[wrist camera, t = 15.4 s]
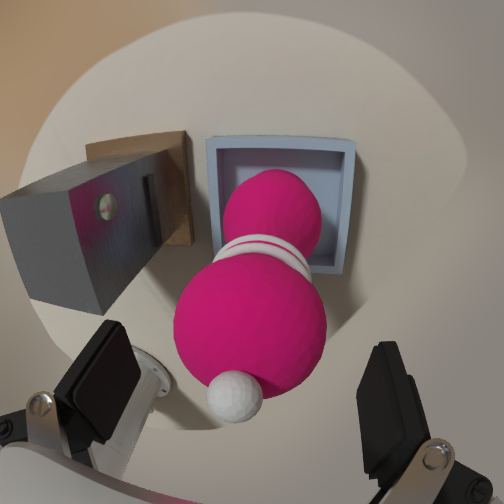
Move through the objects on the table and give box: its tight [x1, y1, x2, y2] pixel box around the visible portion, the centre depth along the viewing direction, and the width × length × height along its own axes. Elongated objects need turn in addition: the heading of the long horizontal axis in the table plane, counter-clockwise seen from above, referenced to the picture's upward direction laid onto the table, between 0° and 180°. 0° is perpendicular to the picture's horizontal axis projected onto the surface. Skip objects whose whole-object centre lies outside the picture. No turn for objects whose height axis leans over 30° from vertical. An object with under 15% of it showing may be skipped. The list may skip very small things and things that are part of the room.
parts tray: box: [206, 135, 356, 274], centre depth 24 cm, size 12×12×3 cm
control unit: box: [0, 131, 195, 316], centre depth 21 cm, size 11×11×14 cm
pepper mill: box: [173, 169, 327, 423], centre depth 16 cm, size 7×7×20 cm
